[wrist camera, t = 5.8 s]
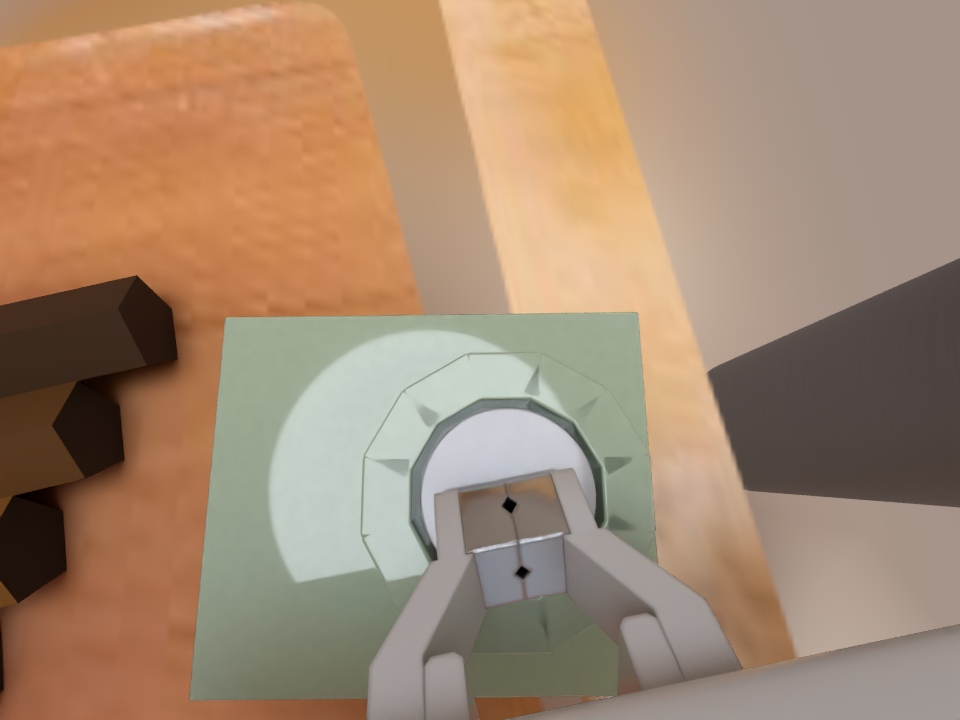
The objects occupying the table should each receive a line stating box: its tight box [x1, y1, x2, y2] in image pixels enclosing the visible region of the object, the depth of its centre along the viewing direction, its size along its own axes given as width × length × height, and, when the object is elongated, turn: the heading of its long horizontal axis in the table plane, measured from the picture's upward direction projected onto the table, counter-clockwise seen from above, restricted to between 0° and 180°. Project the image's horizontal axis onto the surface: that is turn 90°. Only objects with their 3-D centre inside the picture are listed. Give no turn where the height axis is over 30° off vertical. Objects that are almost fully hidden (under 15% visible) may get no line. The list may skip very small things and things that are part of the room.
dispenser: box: [189, 312, 658, 701], centre depth 16 cm, size 12×10×8 cm
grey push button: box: [420, 408, 596, 550], centre depth 13 cm, size 4×4×2 cm
